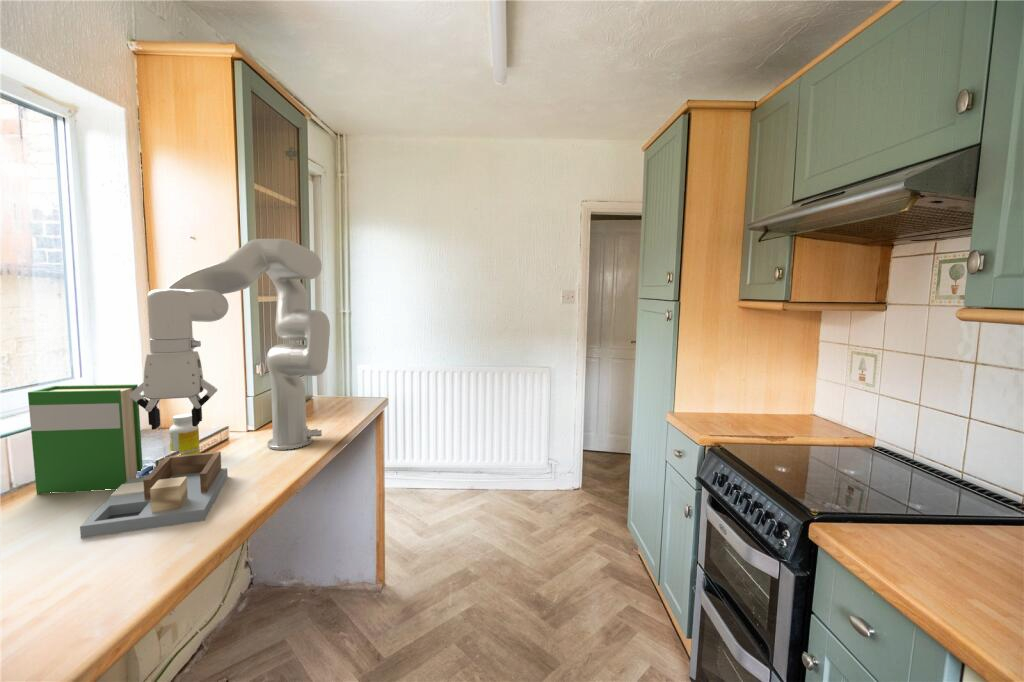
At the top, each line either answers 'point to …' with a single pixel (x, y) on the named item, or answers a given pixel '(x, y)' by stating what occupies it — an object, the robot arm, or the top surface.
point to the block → (168, 494)
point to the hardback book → (84, 437)
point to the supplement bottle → (184, 435)
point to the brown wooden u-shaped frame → (186, 469)
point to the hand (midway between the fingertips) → (176, 425)
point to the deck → (135, 512)
